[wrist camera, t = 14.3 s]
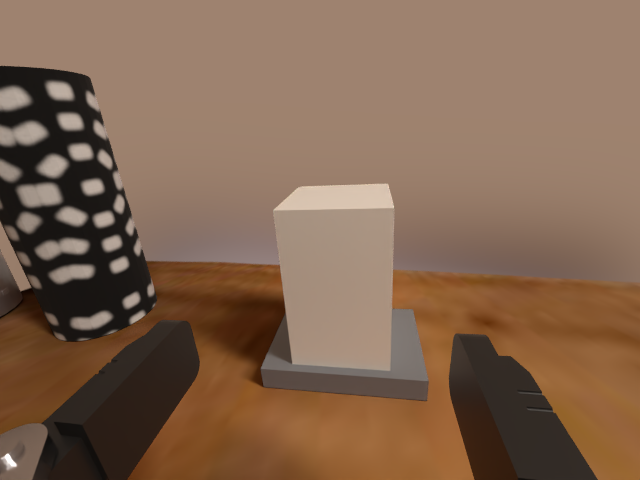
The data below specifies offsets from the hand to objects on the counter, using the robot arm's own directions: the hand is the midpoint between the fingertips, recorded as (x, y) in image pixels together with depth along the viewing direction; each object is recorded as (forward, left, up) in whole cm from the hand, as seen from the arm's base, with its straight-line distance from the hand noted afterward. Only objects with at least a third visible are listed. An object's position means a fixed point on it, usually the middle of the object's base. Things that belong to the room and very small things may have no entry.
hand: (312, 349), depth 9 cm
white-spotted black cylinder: (-23, +14, -9) cm, 28 cm away
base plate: (0, +10, -9) cm, 14 cm away
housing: (0, +10, -8) cm, 13 cm away
